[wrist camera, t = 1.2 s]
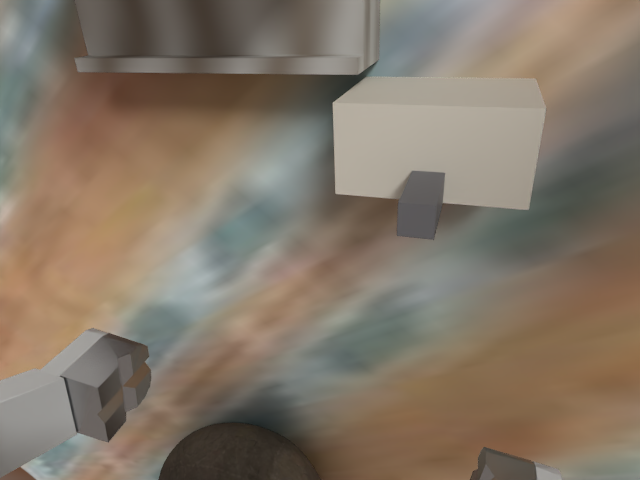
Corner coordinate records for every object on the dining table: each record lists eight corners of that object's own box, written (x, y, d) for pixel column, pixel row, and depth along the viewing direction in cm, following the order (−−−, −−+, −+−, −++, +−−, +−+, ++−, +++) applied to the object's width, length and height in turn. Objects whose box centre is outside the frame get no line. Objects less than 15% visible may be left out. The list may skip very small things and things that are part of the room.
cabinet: (535, 78, 34) (555, 134, 22) (522, 161, 36) (533, 250, 25) (366, 76, 37) (305, 124, 25) (366, 152, 40) (311, 226, 28)
